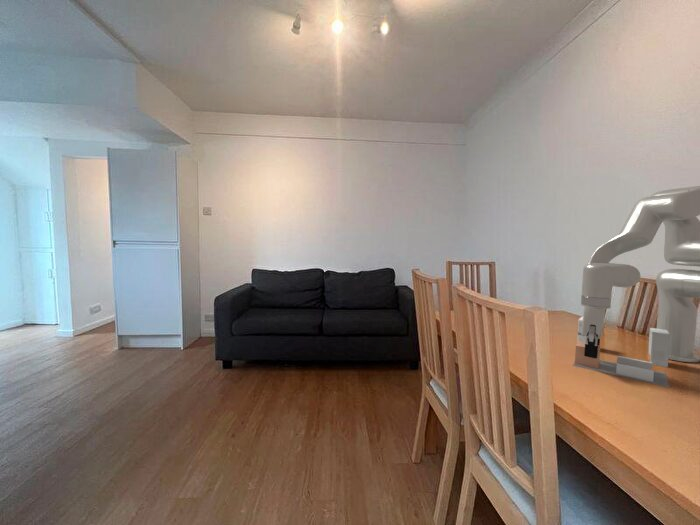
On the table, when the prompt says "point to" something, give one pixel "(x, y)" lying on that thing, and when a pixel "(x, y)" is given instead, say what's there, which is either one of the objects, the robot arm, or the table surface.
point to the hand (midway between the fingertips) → (591, 353)
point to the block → (583, 359)
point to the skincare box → (658, 347)
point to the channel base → (631, 370)
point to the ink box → (580, 337)
